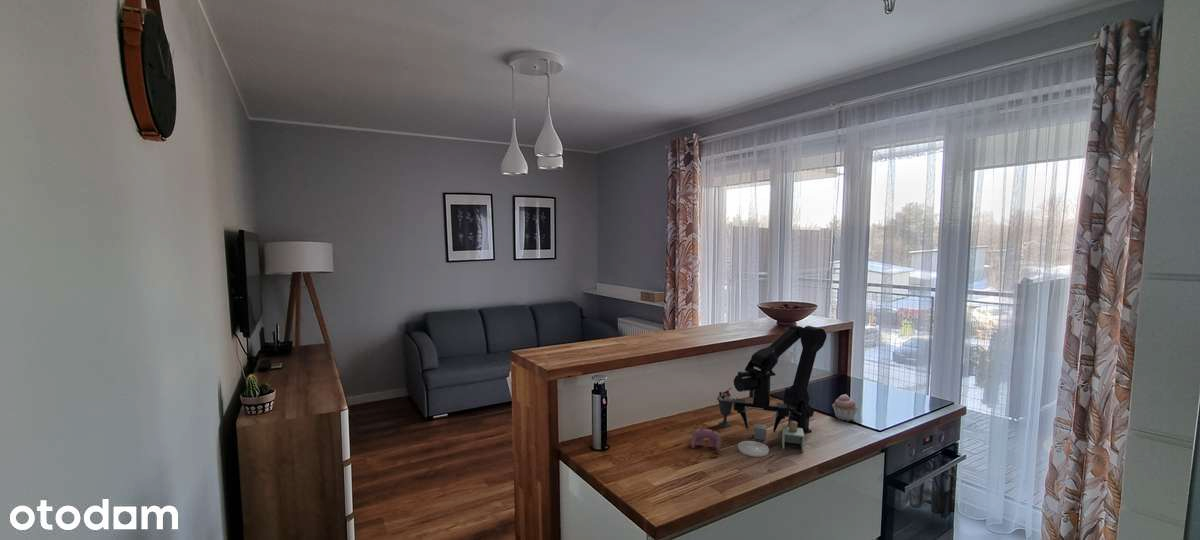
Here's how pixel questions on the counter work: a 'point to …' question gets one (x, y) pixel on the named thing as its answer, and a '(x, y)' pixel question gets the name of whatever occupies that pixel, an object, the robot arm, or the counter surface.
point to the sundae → (725, 406)
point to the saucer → (753, 448)
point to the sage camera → (793, 434)
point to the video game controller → (706, 433)
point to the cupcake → (845, 408)
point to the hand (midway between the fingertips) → (760, 430)
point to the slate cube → (760, 431)
